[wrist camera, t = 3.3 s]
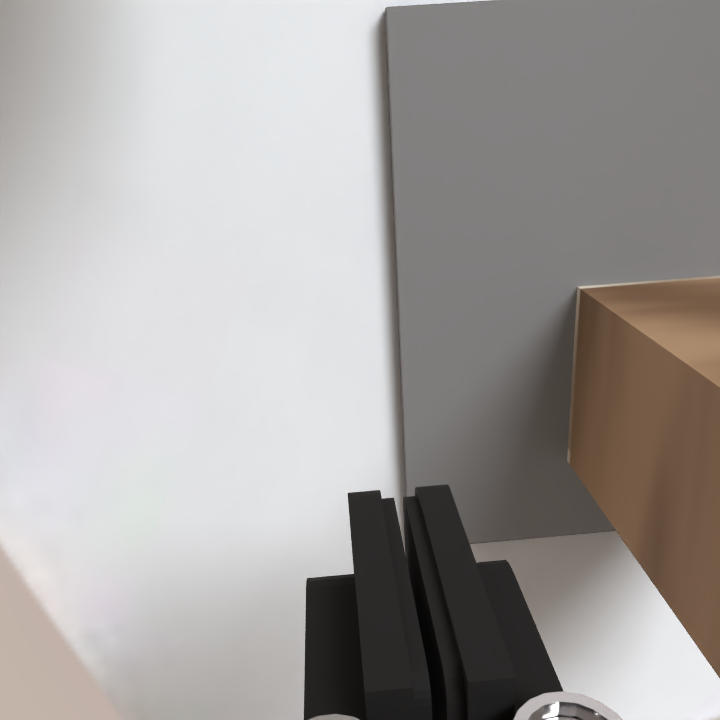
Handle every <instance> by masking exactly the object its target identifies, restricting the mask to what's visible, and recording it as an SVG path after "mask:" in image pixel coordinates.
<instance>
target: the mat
mask: <svg viewBox="0 0 720 720" xmlns="http://www.w3.org/2000/svg"><path fill="white" fill-rule="evenodd" d="M385 20H386V43H387V67H388V90H389V113H390V137H391V160H392V183H393V207H394V230H395V253H396V277H397V300H398V323H399V347H400V370H401V393H402V416H403V440H404V463H405V486H406V497H408V496H415V487H422V486H433V485H445V484H448V485H449V487H450V490H451V493H452V495H453V498H454V501H455V504H456V507H457V510H458V513H459V515H460V518H461V521H462V524H463V527H464V530H465V533H466V535H467V538H468V541H469V544H476V543H487V542H498V541H508V540H519V539H530V538H541V537H552V536H563V535H574V534H585V533H596V532H606V531H616V530H615V528H614V527H613V525H612V524H611V523H610V521H609V520H608V518H607V517H606V515H605V514H604V513H603V511H602V510H601V508H600V507H599V505H598V504H597V503H596V501H595V500H594V498H593V497H592V495H591V494H590V493H589V491H588V490H587V488H586V487H585V486H584V484H583V483H582V481H581V480H580V478H579V477H578V476H577V474H576V473H575V471H574V470H573V468H572V467H571V466H570V464H569V463H568V461H567V454H568V437H569V421H570V404H571V387H572V370H573V353H574V336H575V319H576V302H577V287H580V286H593V285H606V284H619V283H631V282H644V281H657V280H670V279H683V278H695V277H708V276H720V0H493V1H477V2H461V3H444V4H428V5H412V6H396V7H387V8H386V9H385Z"/></svg>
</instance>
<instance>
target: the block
mask: <svg viewBox="0 0 720 720" xmlns="http://www.w3.org/2000/svg"><path fill="white" fill-rule="evenodd" d="M567 461H568V463H569V464H570V466H571V467H572V468H573V470H574V471H575V473H576V474H577V476H578V477H579V478H580V480H581V481H582V483H583V484H584V486H585V487H586V488H587V490H588V491H589V493H590V494H591V495H592V497H593V498H594V500H595V501H596V503H597V504H598V505H599V507H600V508H601V510H602V511H603V513H604V514H605V515H606V517H607V518H608V520H609V521H610V523H611V524H612V525H613V527H614V528H615V530H616V531H617V533H618V534H619V535H620V537H621V538H622V540H623V541H624V542H625V544H626V545H627V547H628V548H629V550H630V551H631V552H632V554H633V555H634V557H635V558H636V560H637V561H638V562H639V564H640V565H641V567H642V568H643V570H644V571H645V572H646V574H647V575H648V577H649V578H650V580H651V581H652V582H653V584H654V585H655V587H656V588H657V589H658V591H659V592H660V594H661V595H662V597H663V598H664V599H665V601H666V602H667V604H668V605H669V607H670V608H671V609H672V611H673V612H674V614H675V615H676V617H677V618H678V619H679V621H680V622H681V624H682V625H683V627H684V628H685V629H686V631H687V632H688V634H689V635H690V636H691V638H692V639H693V641H694V642H695V644H696V645H697V646H698V648H699V649H700V651H701V652H702V654H703V655H704V656H705V658H706V659H707V661H708V662H709V664H710V665H711V666H712V668H713V669H714V671H715V672H716V674H717V675H718V676H719V678H720V276H708V277H695V278H683V279H670V280H657V281H644V282H631V283H619V284H606V285H593V286H580V287H577V302H576V319H575V336H574V353H573V370H572V387H571V404H570V421H569V437H568V454H567Z"/></svg>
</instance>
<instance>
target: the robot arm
mask: <svg viewBox="0 0 720 720" xmlns="http://www.w3.org/2000/svg"><path fill="white" fill-rule="evenodd" d="M348 502H349V515H350V528H351V540H352V553H353V565H354V574H349V575H338V576H327V577H316V578H307V583H306V632H305V691H304V720H622V719H621V717H620V716H619V715H618V714H617V713H615V712H614V711H613V710H611V709H610V708H608V707H607V706H605V705H604V704H603V703H601V702H599V701H597V700H594V699H592V698H589V697H587V696H584V695H582V694H576V693H570V692H563V689H562V687H561V684H560V682H559V680H558V677H557V675H556V673H555V670H554V668H553V665H552V663H551V661H550V658H549V656H548V654H547V651H546V649H545V646H544V644H543V642H542V639H541V637H540V635H539V632H538V630H537V627H536V625H535V623H534V620H533V618H532V616H531V613H530V611H529V608H528V606H527V604H526V601H525V599H524V597H523V594H522V592H521V589H520V587H519V585H518V582H517V580H516V578H515V575H514V573H513V570H512V568H511V566H510V565H509V563H508V562H507V561H506V560H501V561H490V562H479V563H476V561H475V558H474V555H473V553H472V550H471V547H470V544H469V541H468V538H467V535H466V533H465V530H464V527H463V524H462V521H461V518H460V515H459V513H458V510H457V507H456V504H455V501H454V498H453V495H452V493H451V490H450V487H449V485H448V484H445V485H433V486H422V487H415V496H408V497H404V498H403V508H404V531H405V552H404V547H403V542H402V536H401V531H400V526H399V521H398V516H397V511H396V506H395V501H394V498H386V499H382V498H381V493H380V490H376V491H365V492H353V493H348ZM405 554H406V557H405Z"/></svg>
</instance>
